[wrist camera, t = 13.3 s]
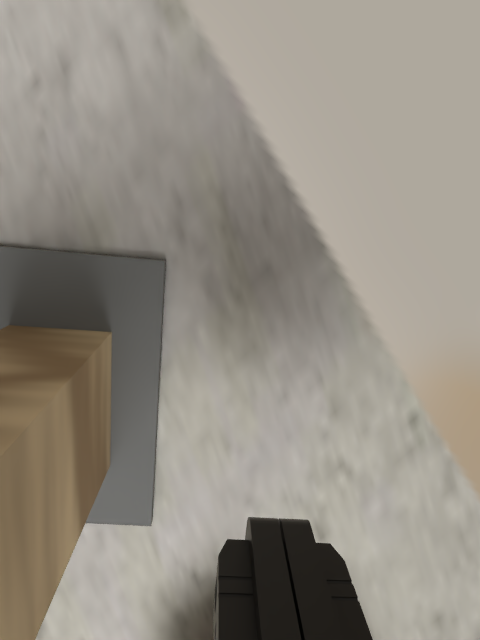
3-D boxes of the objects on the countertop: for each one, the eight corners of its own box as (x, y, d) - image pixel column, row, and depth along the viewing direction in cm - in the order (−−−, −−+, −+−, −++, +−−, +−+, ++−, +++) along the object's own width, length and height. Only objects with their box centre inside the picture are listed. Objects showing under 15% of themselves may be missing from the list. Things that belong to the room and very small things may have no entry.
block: (111, 332, 17) (-27, 487, 8) (110, 465, 19) (-8, 738, 9) (8, 325, 17) (-272, 477, 7) (15, 460, 18) (-212, 737, 9)
